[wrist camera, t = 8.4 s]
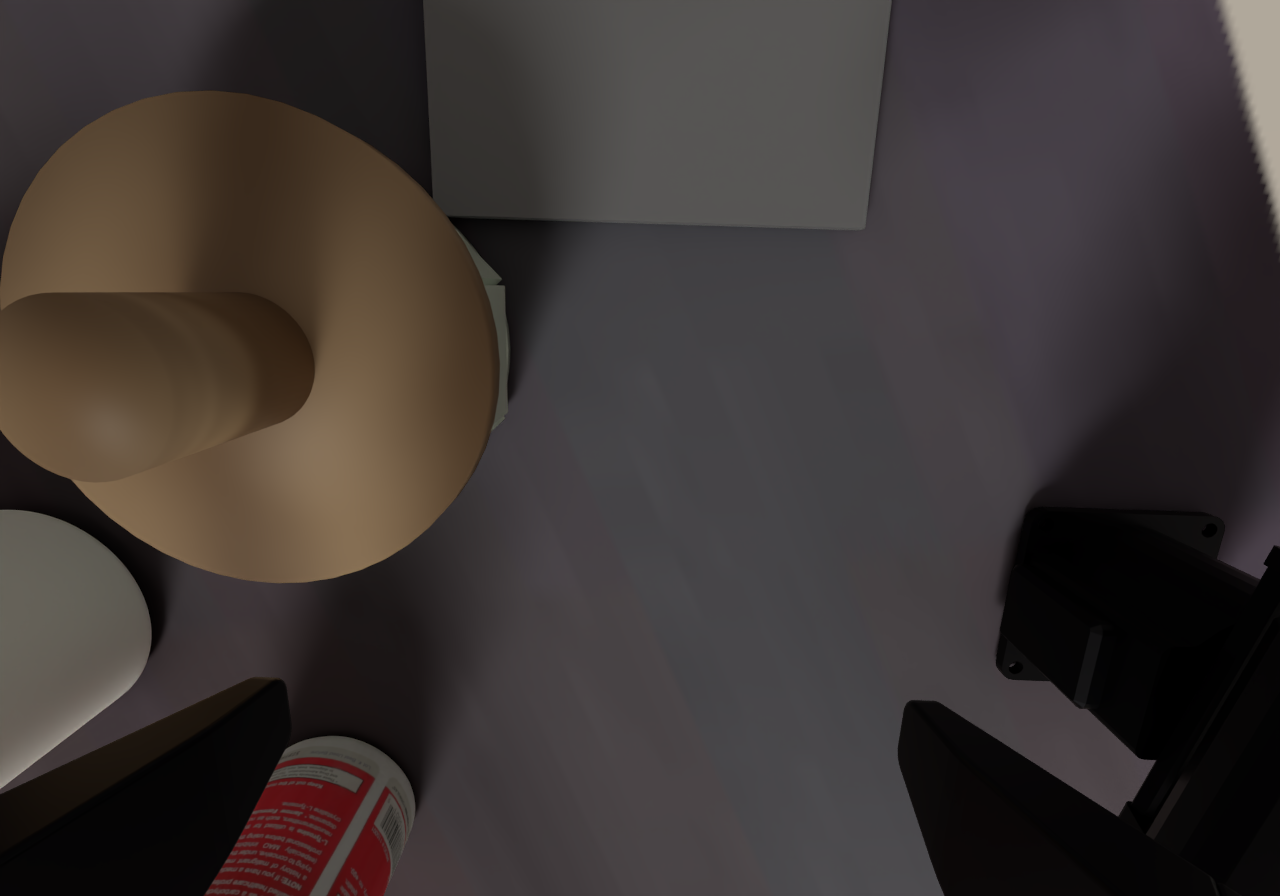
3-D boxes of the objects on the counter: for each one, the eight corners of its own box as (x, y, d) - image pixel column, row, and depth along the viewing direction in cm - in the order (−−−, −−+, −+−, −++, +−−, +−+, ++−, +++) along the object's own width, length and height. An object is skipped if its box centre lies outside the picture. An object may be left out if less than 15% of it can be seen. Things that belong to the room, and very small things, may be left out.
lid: (492, 110, 14) (395, -1, 9) (506, 572, 17) (441, 702, 12) (-9, 97, 14) (-409, -21, 9) (91, 560, 17) (-164, 683, 12)
